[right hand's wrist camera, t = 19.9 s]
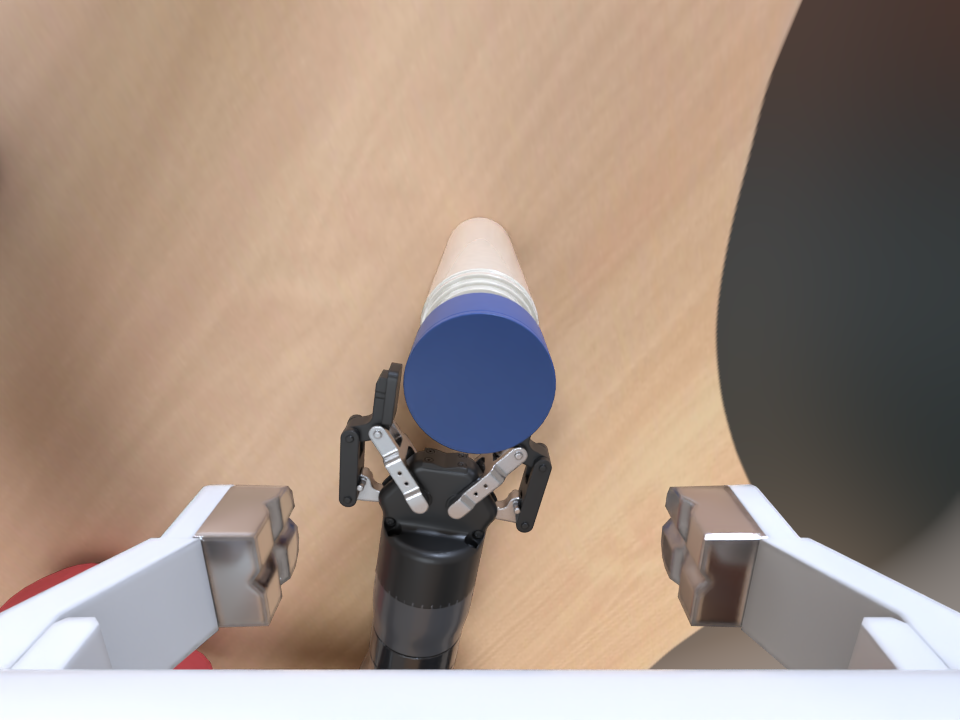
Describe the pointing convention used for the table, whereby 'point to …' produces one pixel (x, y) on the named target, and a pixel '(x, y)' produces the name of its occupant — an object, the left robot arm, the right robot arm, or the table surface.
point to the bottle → (479, 267)
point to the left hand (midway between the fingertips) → (459, 377)
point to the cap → (479, 374)
